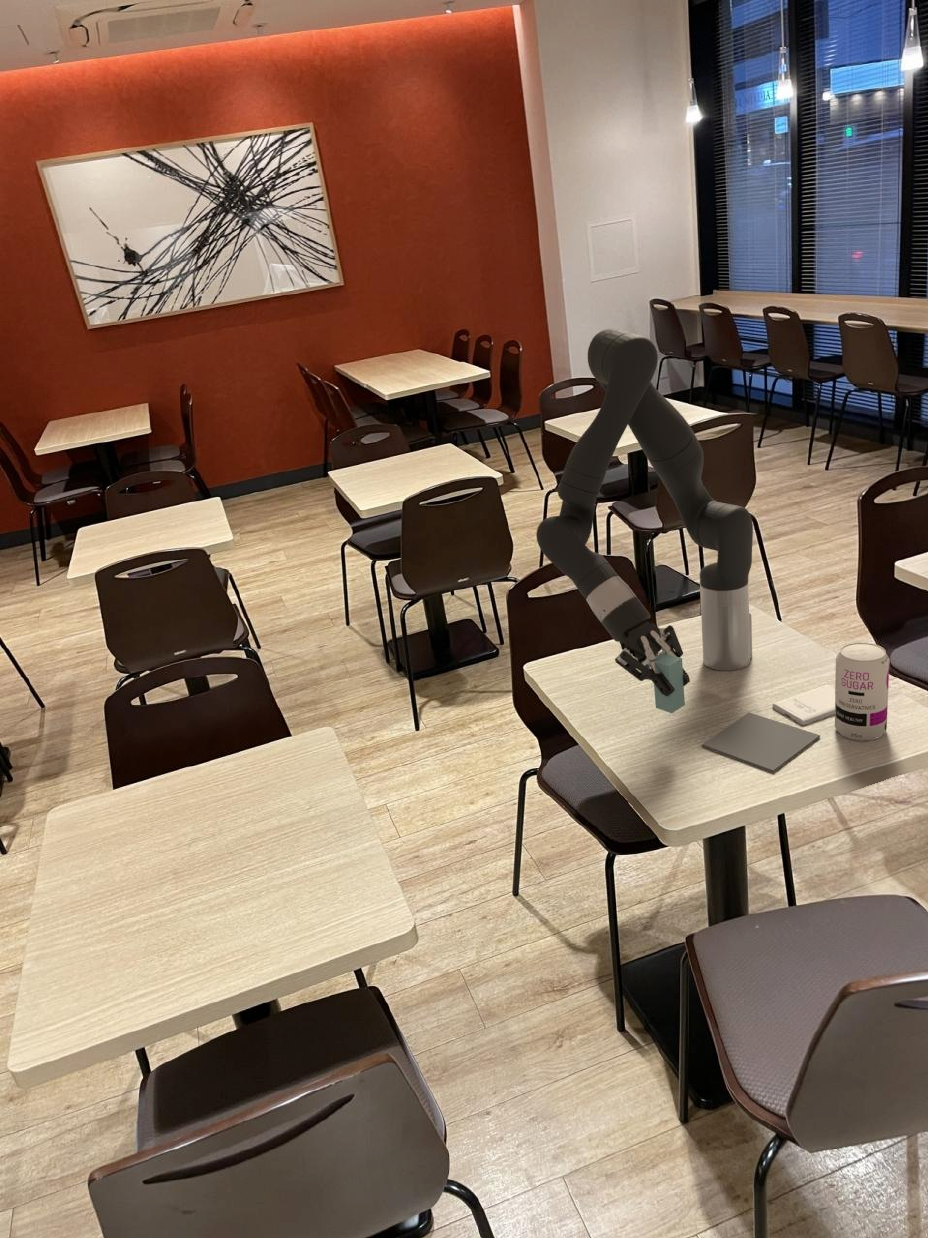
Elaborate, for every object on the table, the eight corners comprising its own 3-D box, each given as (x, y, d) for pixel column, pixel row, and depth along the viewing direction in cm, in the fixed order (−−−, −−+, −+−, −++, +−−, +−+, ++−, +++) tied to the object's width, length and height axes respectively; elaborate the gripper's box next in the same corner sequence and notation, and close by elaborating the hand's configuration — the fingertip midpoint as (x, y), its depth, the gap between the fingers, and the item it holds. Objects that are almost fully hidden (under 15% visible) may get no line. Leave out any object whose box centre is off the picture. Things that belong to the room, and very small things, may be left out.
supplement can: (877, 717, 164) (880, 639, 159) (893, 741, 157) (896, 660, 151) (829, 720, 165) (830, 643, 160) (842, 744, 158) (843, 663, 152)
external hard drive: (859, 707, 169) (803, 727, 165) (826, 691, 176) (772, 709, 172) (859, 699, 168) (803, 719, 165) (826, 683, 175) (772, 701, 172)
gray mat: (748, 714, 171) (748, 712, 171) (819, 737, 160) (820, 735, 160) (701, 746, 163) (701, 744, 163) (773, 772, 153) (773, 770, 152)
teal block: (668, 699, 164) (665, 653, 160) (685, 705, 161) (681, 658, 158) (655, 707, 162) (652, 661, 158) (672, 713, 159) (668, 666, 156)
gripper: (600, 611, 156) (663, 696, 152) (655, 583, 164) (716, 662, 159) (580, 633, 162) (640, 715, 158) (633, 605, 170) (692, 682, 165)
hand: (678, 688), depth 158 cm, fingers closed on teal block, 3 cm apart
